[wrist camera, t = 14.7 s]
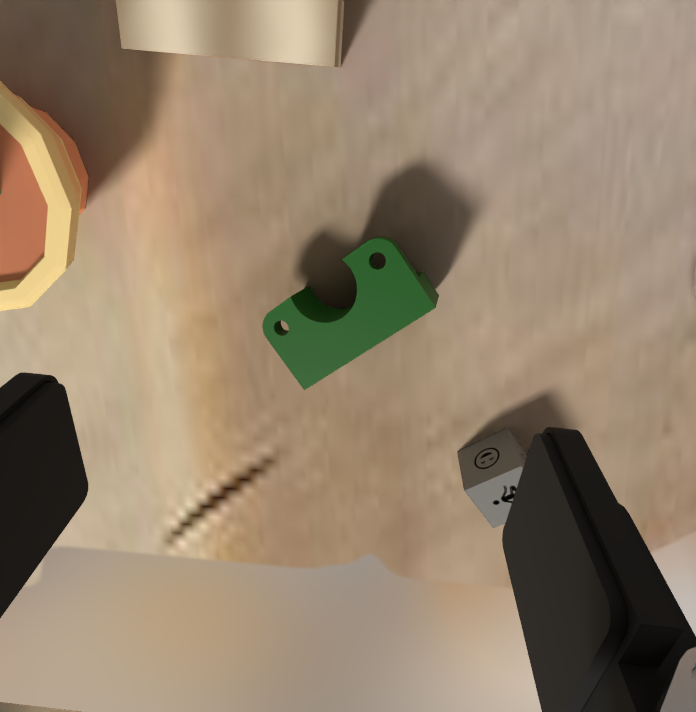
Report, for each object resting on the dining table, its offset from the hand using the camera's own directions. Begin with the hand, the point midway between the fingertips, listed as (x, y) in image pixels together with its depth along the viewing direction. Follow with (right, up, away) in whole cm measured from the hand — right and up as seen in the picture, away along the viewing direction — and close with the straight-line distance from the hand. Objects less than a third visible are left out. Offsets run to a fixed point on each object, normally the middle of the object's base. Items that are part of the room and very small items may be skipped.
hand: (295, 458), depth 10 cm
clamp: (+1, +7, +29) cm, 30 cm away
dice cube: (+14, -7, +36) cm, 39 cm away
